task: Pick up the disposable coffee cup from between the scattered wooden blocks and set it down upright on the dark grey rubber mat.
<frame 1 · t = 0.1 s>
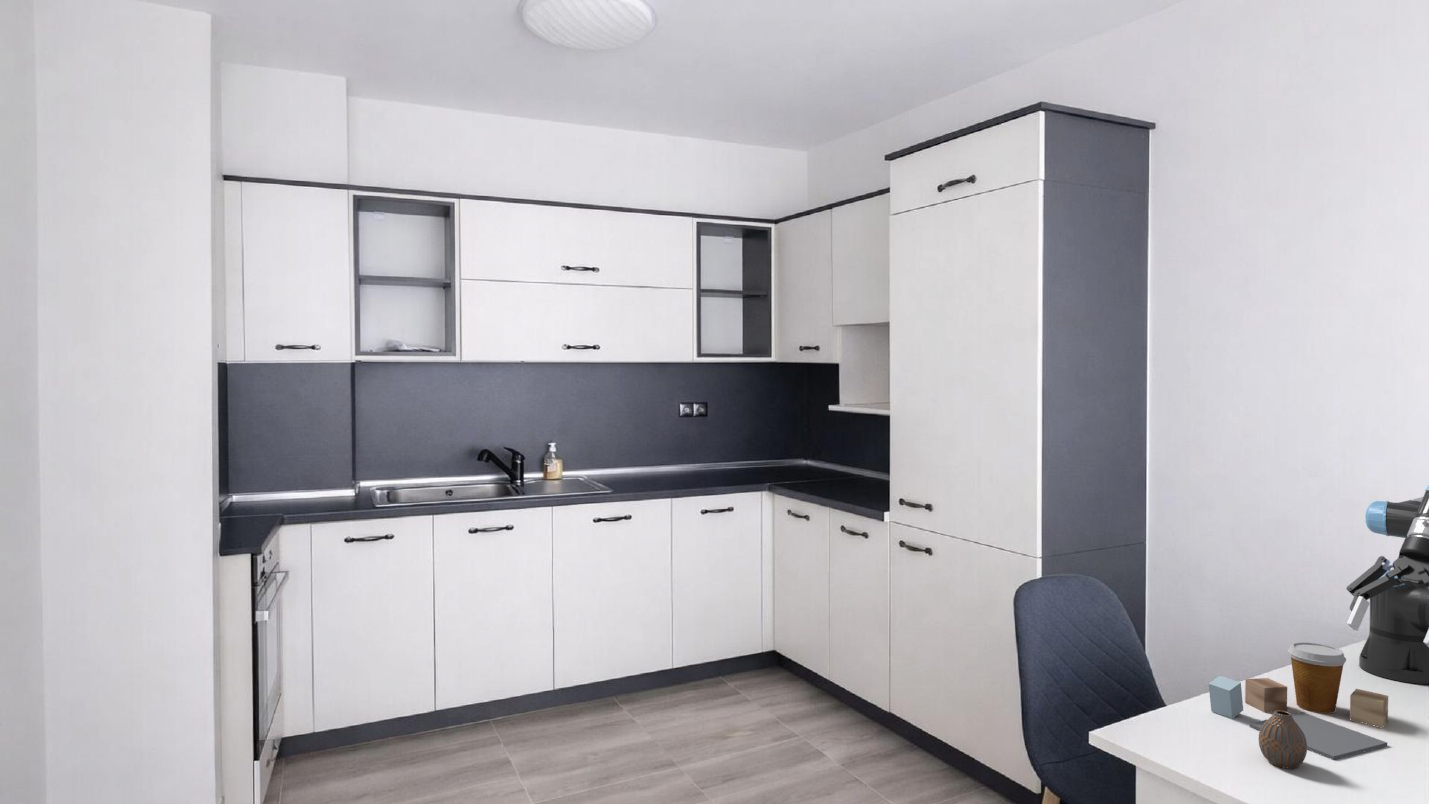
hand: (1389, 636, 165), 15 cm above the table, tool tilted 35°, fingers open, 13 cm apart
vase: (1282, 764, 144), on the table
block c: (1236, 700, 163), point 3 cm above the table, tilted 88°
mat: (1316, 736, 155), on the table
block b: (1265, 707, 169), on the table
block a: (1368, 720, 162), on the table
disposable coffee cup: (1315, 708, 168), on the table
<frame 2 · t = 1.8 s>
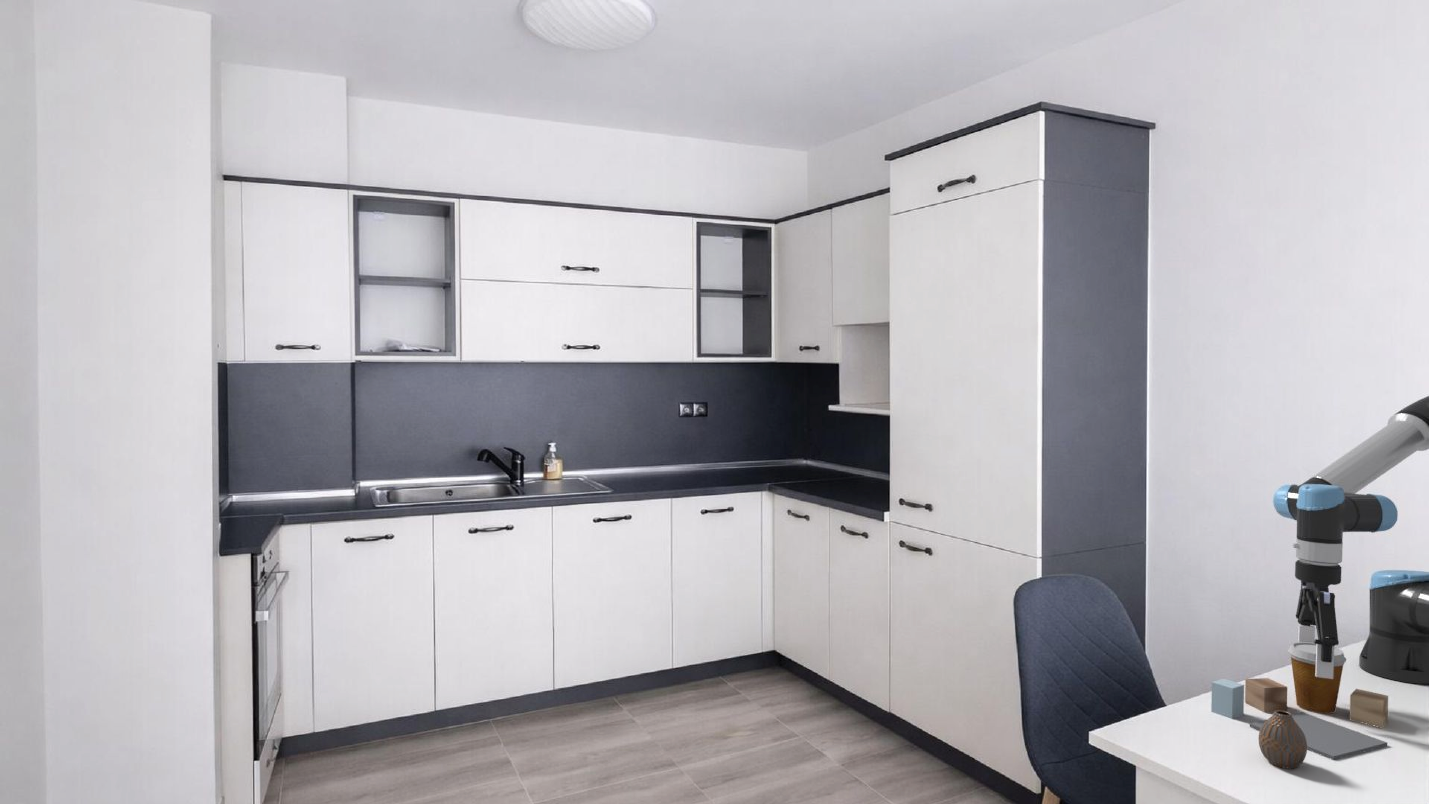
hand: (1314, 667, 168), 8 cm above the table, tool pointing down, fingers open, 13 cm apart
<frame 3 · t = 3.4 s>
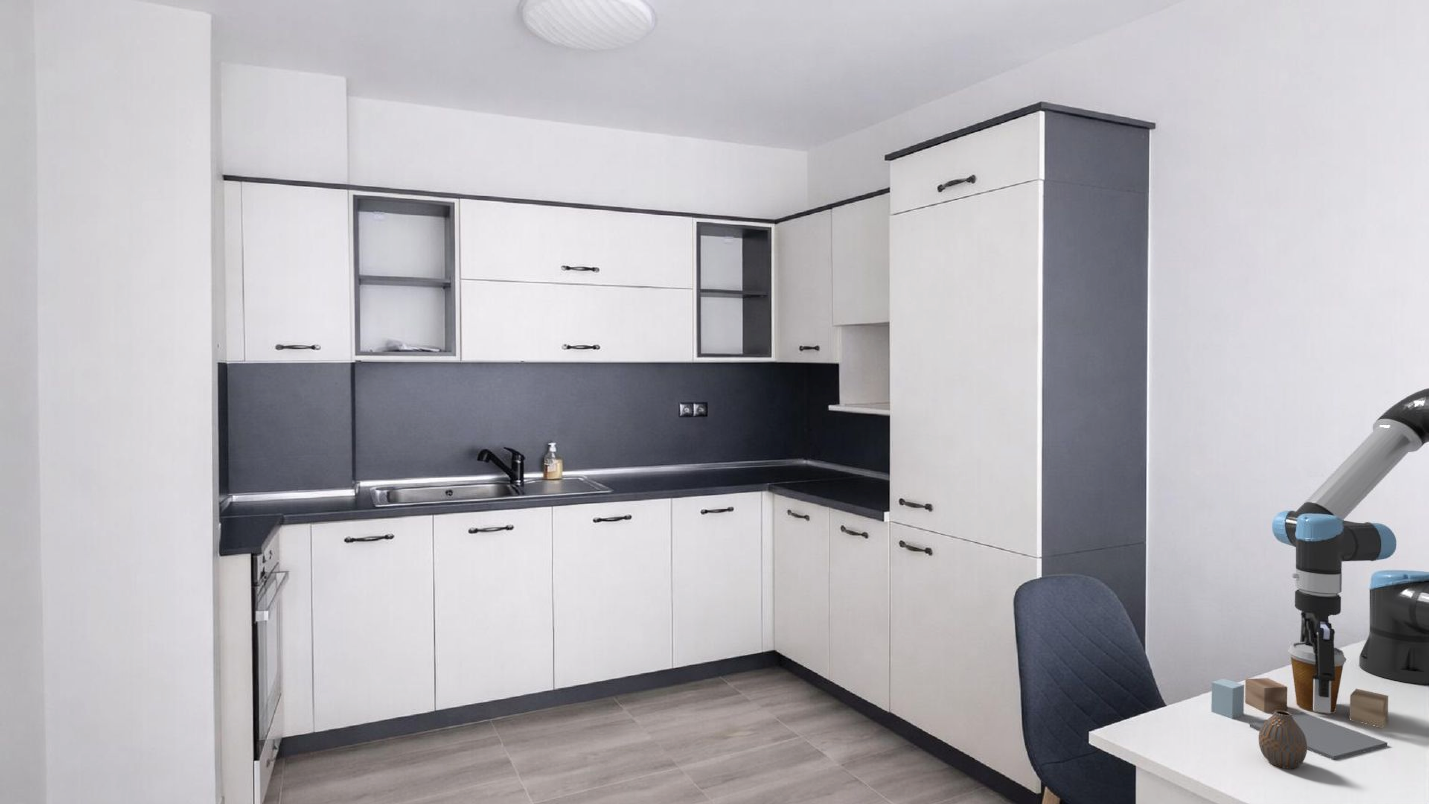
hand: (1315, 703, 168), 1 cm above the table, tool pointing down, fingers closed on disposable coffee cup, 8 cm apart
disposable coffee cup: (1315, 708, 168), on the table, touching gripper
everything else where it was.
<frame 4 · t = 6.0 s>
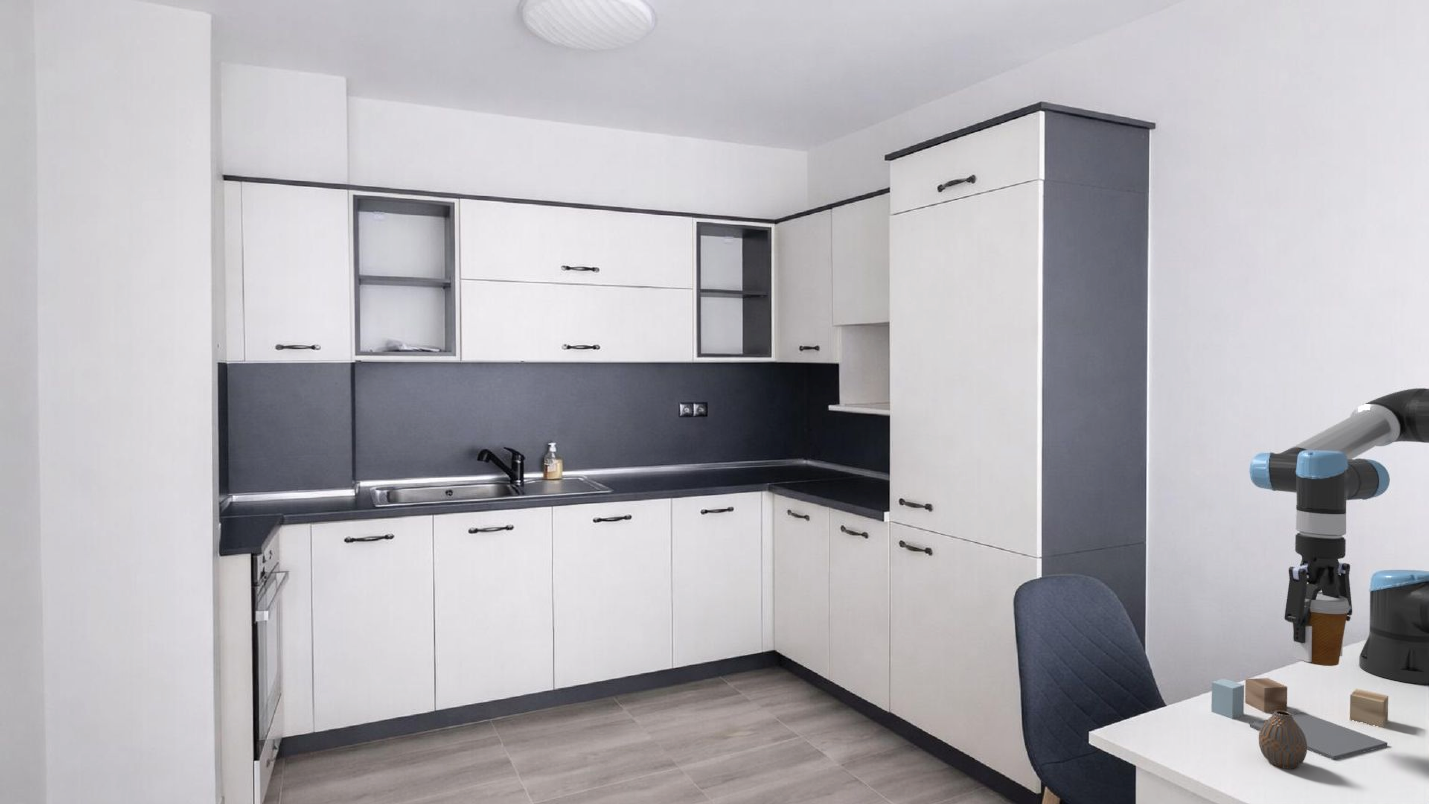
hand: (1318, 656, 154), 15 cm above the table, tool pointing down, fingers closed on disposable coffee cup, 8 cm apart
disposable coffee cup: (1317, 661, 154), point 14 cm above the table, touching gripper
everything else where it was.
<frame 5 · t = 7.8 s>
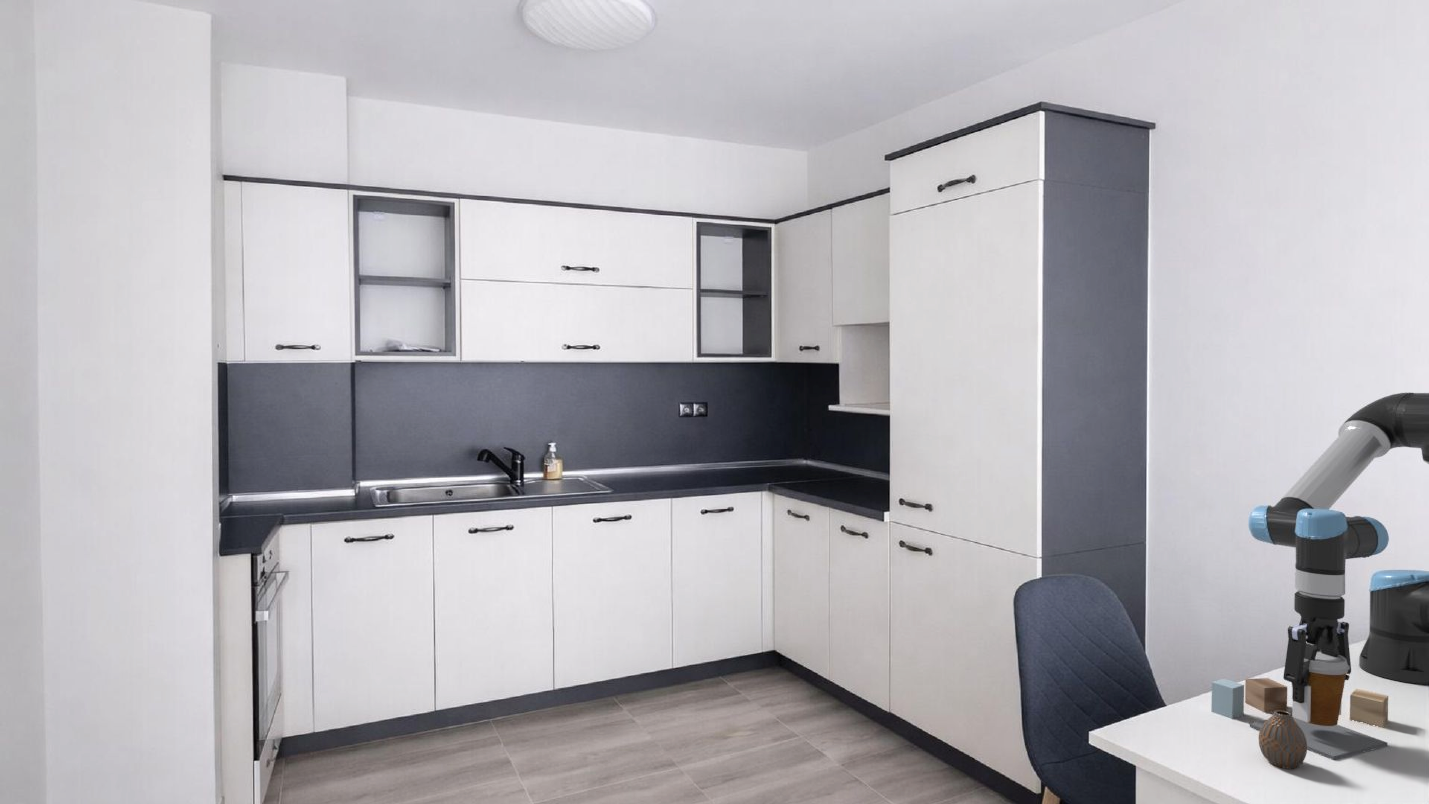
hand: (1316, 715, 155), 4 cm above the table, tool pointing down, fingers closed on disposable coffee cup, 8 cm apart
disposable coffee cup: (1316, 720, 155), point 3 cm above the table, touching gripper
everything else where it was.
when the fingers open (3 cm above the table, at t = 8.9 s): disposable coffee cup drops 1 cm, resting on mat.
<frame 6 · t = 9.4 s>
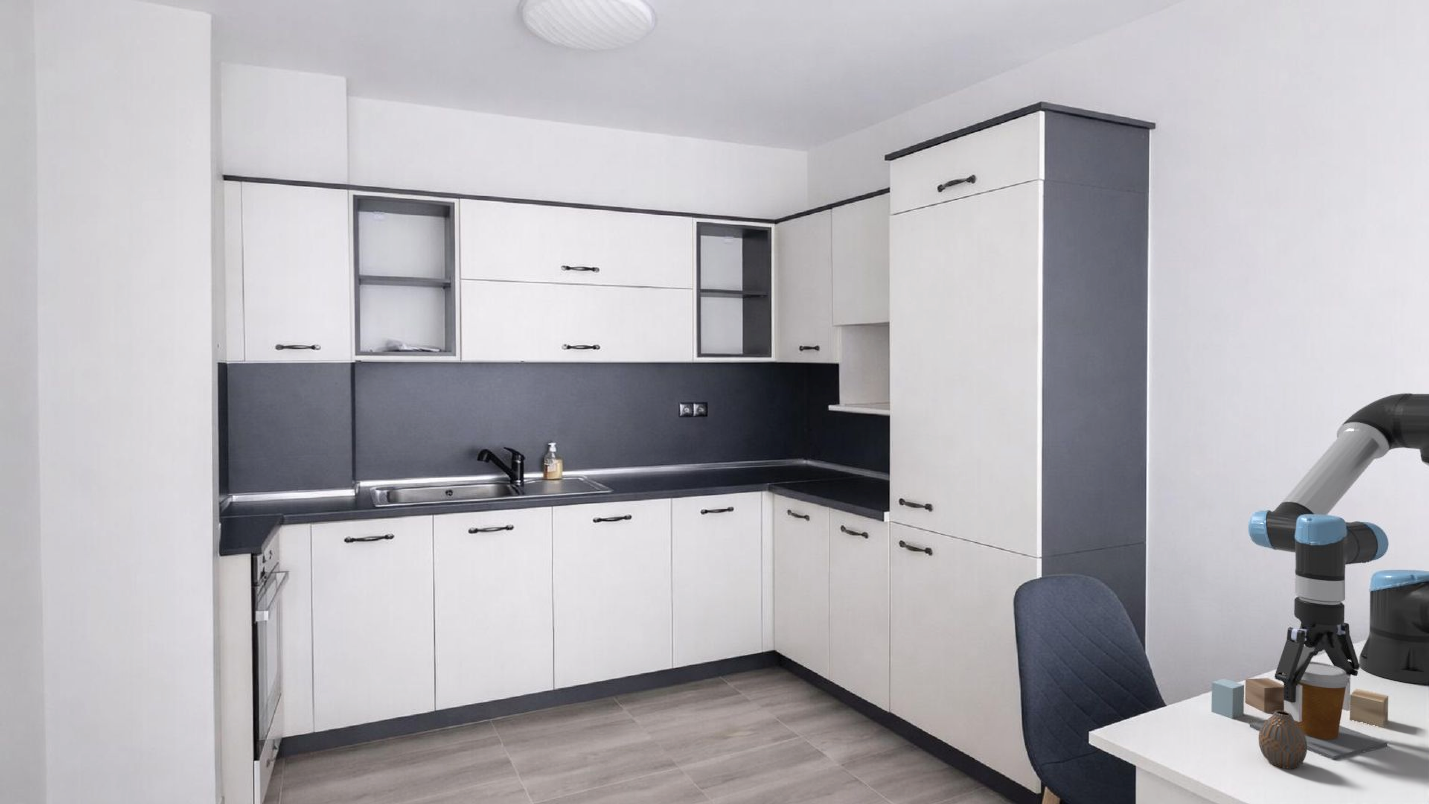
hand: (1317, 713, 155), 4 cm above the table, tool pointing down, fingers open, 13 cm apart
disposable coffee cup: (1316, 733, 155), resting on mat
everything else where it was.
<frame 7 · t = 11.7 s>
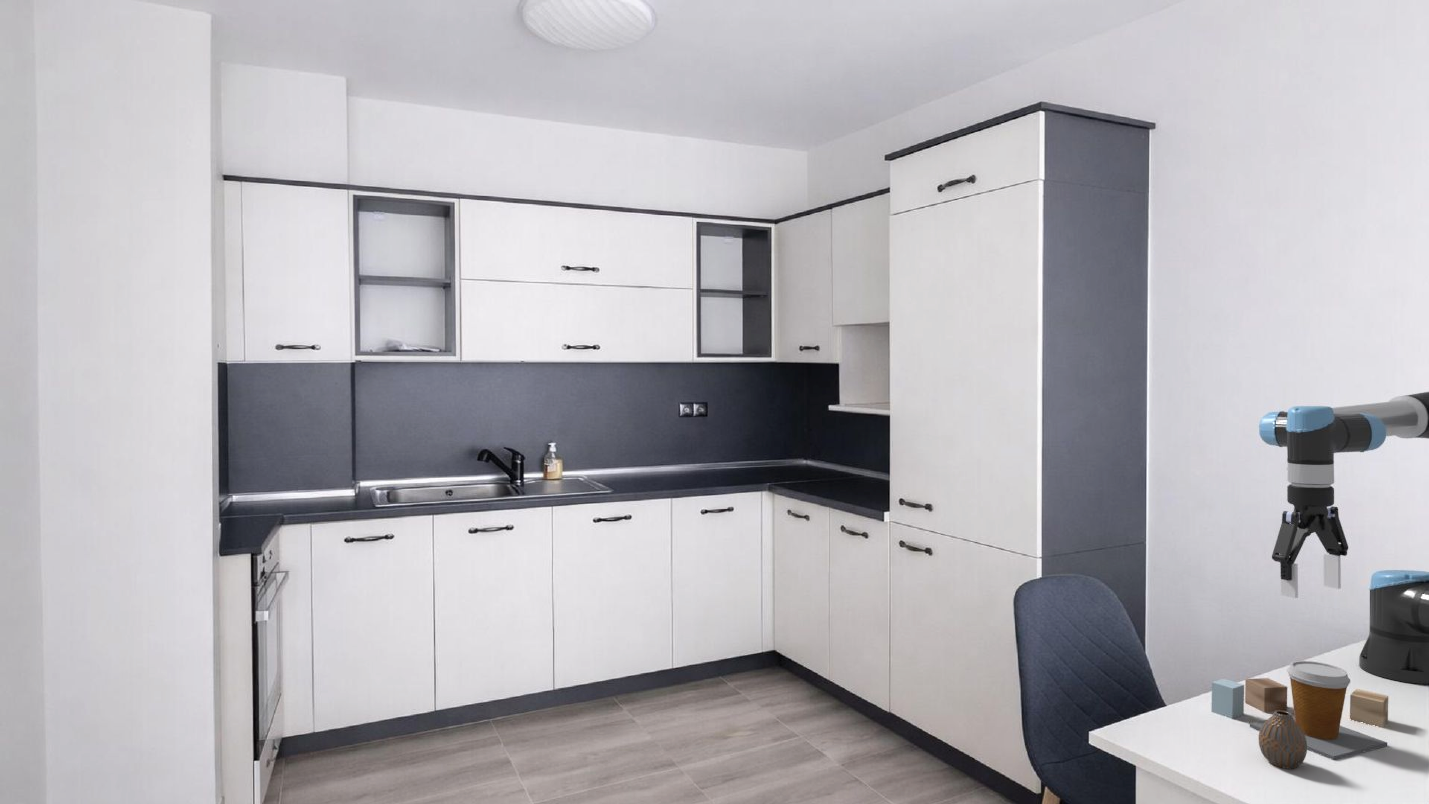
hand: (1311, 591, 165), 24 cm above the table, tool pointing down, fingers open, 13 cm apart
nothing on the table moved.
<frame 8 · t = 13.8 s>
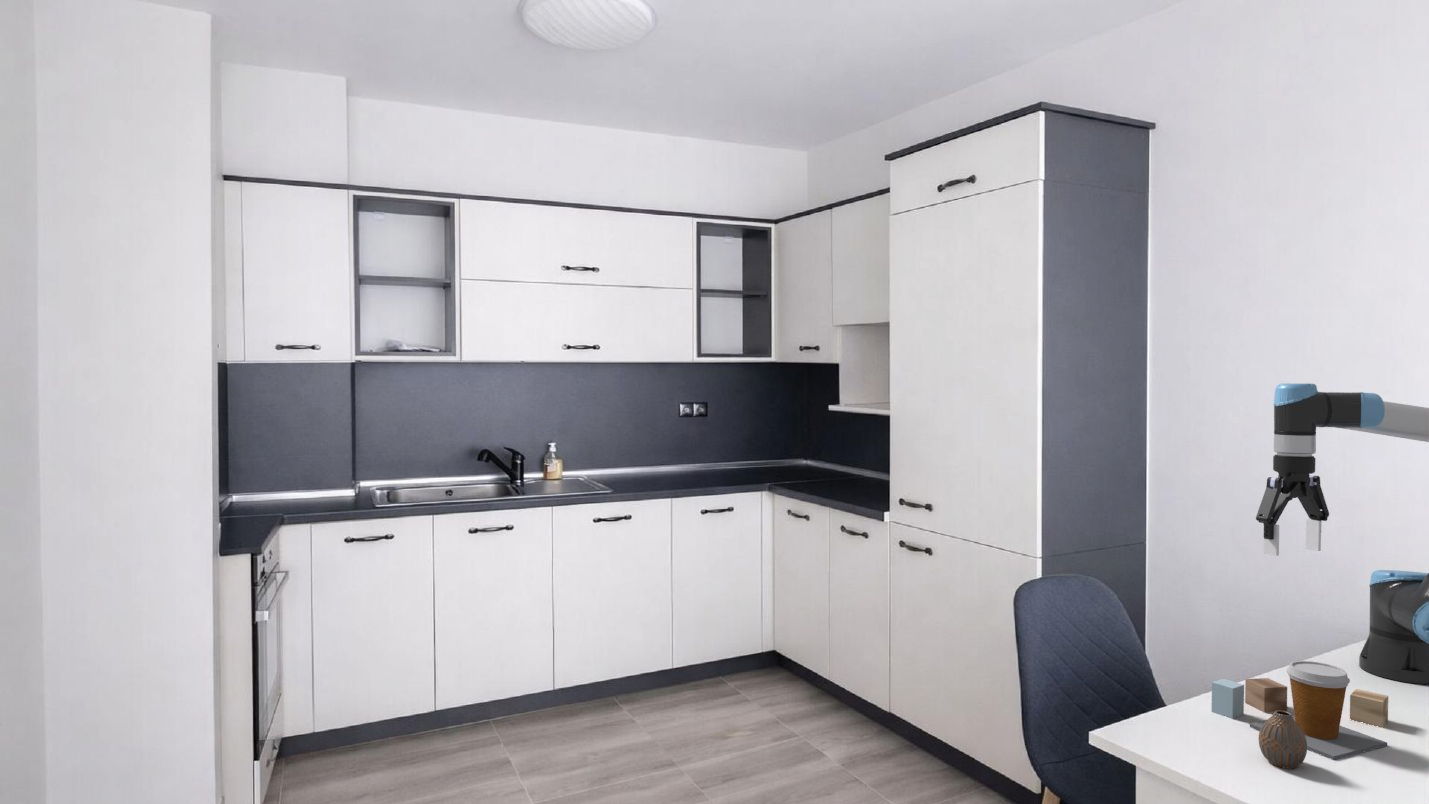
hand: (1292, 552, 181), 29 cm above the table, tool pointing down, fingers open, 13 cm apart
nothing on the table moved.
at the end: disposable coffee cup inside the target area on the mat (0.1 cm from its centre), point 0.4 cm above the mat's base; disposable coffee cup tilted 0°; the gripper is holding nothing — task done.
